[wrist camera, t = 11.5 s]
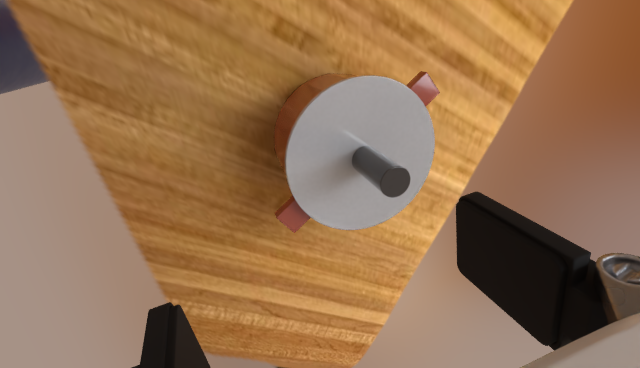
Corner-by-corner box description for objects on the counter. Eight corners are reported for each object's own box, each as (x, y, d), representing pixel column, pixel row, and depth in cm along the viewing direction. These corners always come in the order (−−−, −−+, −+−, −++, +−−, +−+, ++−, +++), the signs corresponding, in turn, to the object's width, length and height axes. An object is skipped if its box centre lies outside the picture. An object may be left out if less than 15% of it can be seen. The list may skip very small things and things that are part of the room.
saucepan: (227, 157, 34) (233, 184, 28) (361, 24, 34) (399, 21, 27) (310, 229, 40) (331, 266, 34) (426, 118, 39) (470, 134, 33)
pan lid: (248, 158, 28) (259, 190, 22) (372, 36, 27) (417, 35, 22) (349, 250, 34) (379, 293, 28) (452, 152, 34) (504, 176, 28)
